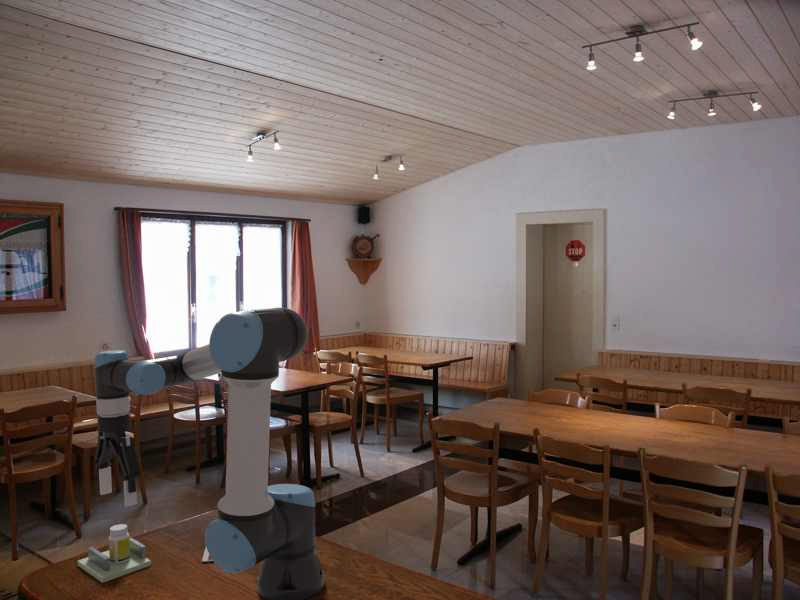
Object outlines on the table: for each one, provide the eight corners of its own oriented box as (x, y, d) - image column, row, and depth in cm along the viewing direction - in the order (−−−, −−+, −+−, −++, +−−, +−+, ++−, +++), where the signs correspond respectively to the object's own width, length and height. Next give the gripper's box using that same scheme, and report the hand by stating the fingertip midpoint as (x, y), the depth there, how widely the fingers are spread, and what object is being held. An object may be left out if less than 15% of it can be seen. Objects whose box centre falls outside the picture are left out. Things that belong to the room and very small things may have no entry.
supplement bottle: (133, 555, 167) (132, 523, 166) (126, 564, 162) (124, 530, 162) (114, 556, 167) (112, 523, 166) (106, 564, 162) (105, 531, 161)
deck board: (150, 565, 164) (150, 560, 164) (102, 582, 155) (102, 577, 155) (125, 549, 173) (124, 545, 173) (77, 565, 165) (77, 560, 165)
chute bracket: (145, 557, 166) (145, 545, 166) (105, 571, 158) (105, 559, 158) (127, 546, 172) (127, 535, 172) (88, 559, 165) (87, 547, 165)
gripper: (153, 417, 157) (157, 505, 158) (106, 405, 174) (110, 485, 175) (122, 423, 151) (126, 515, 152) (77, 410, 168) (81, 492, 169)
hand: (118, 499), depth 163 cm, fingers open, 13 cm apart
